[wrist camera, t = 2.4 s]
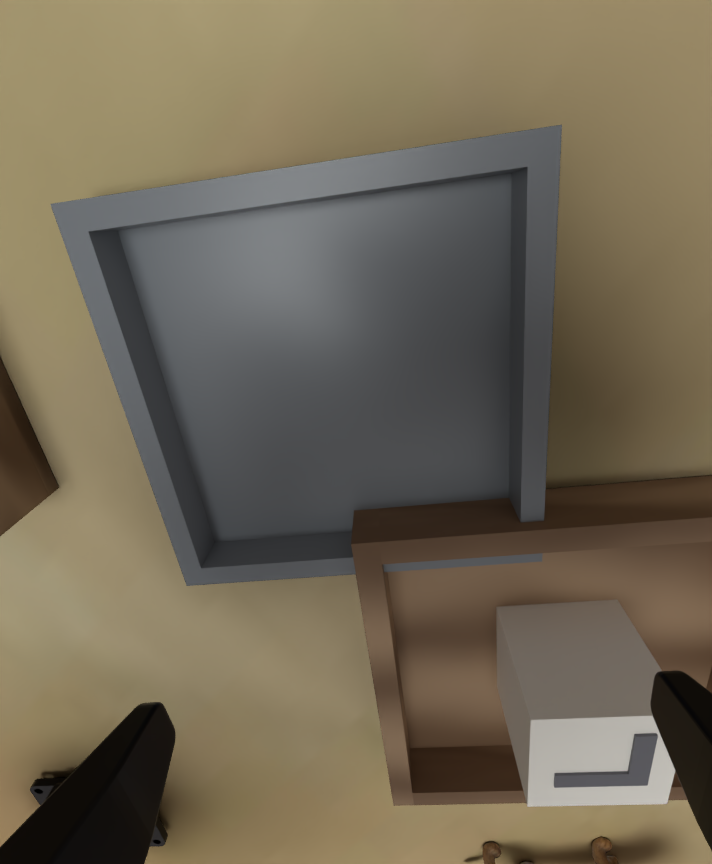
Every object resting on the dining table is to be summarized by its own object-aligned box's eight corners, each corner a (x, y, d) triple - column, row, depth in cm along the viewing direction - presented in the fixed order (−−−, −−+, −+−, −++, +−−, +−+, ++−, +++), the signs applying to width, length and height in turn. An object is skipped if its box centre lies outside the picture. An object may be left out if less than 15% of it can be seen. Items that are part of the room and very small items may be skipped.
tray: (526, 528, 19) (542, 561, 17) (204, 552, 20) (186, 585, 18) (536, 138, 13) (561, 124, 11) (91, 206, 15) (50, 203, 13)
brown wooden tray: (705, 743, 24) (740, 798, 21) (392, 752, 25) (393, 805, 23) (782, 469, 17) (844, 507, 15) (354, 504, 19) (350, 544, 16)
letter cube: (606, 680, 22) (668, 807, 17) (496, 685, 22) (528, 809, 17) (617, 599, 20) (691, 717, 15) (496, 606, 20) (531, 723, 15)
